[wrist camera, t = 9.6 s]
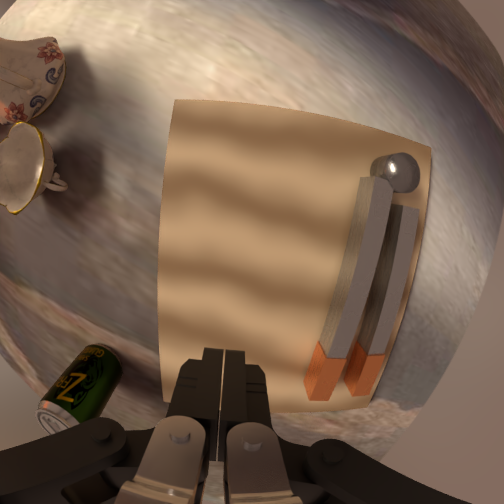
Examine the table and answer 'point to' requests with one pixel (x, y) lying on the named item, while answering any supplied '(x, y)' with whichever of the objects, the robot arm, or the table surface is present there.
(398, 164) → the tong free arm
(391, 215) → the tong fixed arm
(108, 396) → the beer can
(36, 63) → the chinaware
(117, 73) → the table surface
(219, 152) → the cutting board
